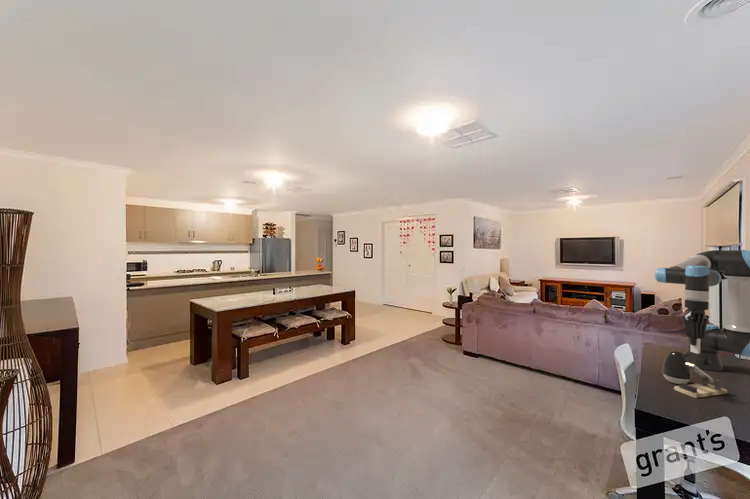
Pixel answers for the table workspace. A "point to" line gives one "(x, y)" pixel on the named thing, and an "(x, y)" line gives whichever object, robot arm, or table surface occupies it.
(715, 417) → the table surface
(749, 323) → the robot arm
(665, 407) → the table surface
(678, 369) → the dark grey egg shape
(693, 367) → the grey flat bar
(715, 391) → the mount
